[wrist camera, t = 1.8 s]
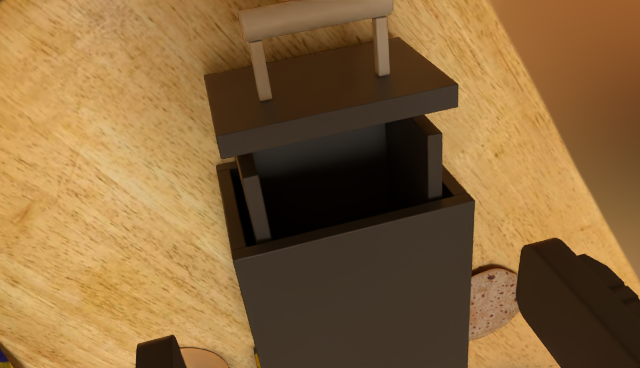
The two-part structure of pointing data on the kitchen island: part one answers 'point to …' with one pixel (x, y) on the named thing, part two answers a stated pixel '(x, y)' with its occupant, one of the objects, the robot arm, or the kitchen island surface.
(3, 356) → the decorative fish
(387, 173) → the drawer
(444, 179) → the cabinet
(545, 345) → the robot arm
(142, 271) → the kitchen island surface
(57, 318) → the kitchen island surface
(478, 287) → the flatbread
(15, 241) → the kitchen island surface
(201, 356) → the pill bottle
